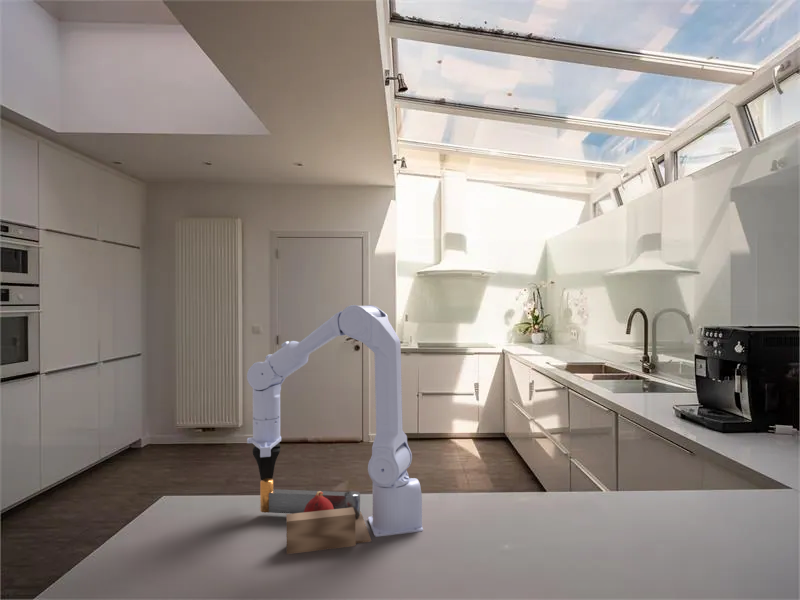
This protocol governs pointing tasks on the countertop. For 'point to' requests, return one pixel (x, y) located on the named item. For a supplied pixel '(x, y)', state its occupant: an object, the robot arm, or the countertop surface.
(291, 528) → the bench
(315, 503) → the onion
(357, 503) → the lever
